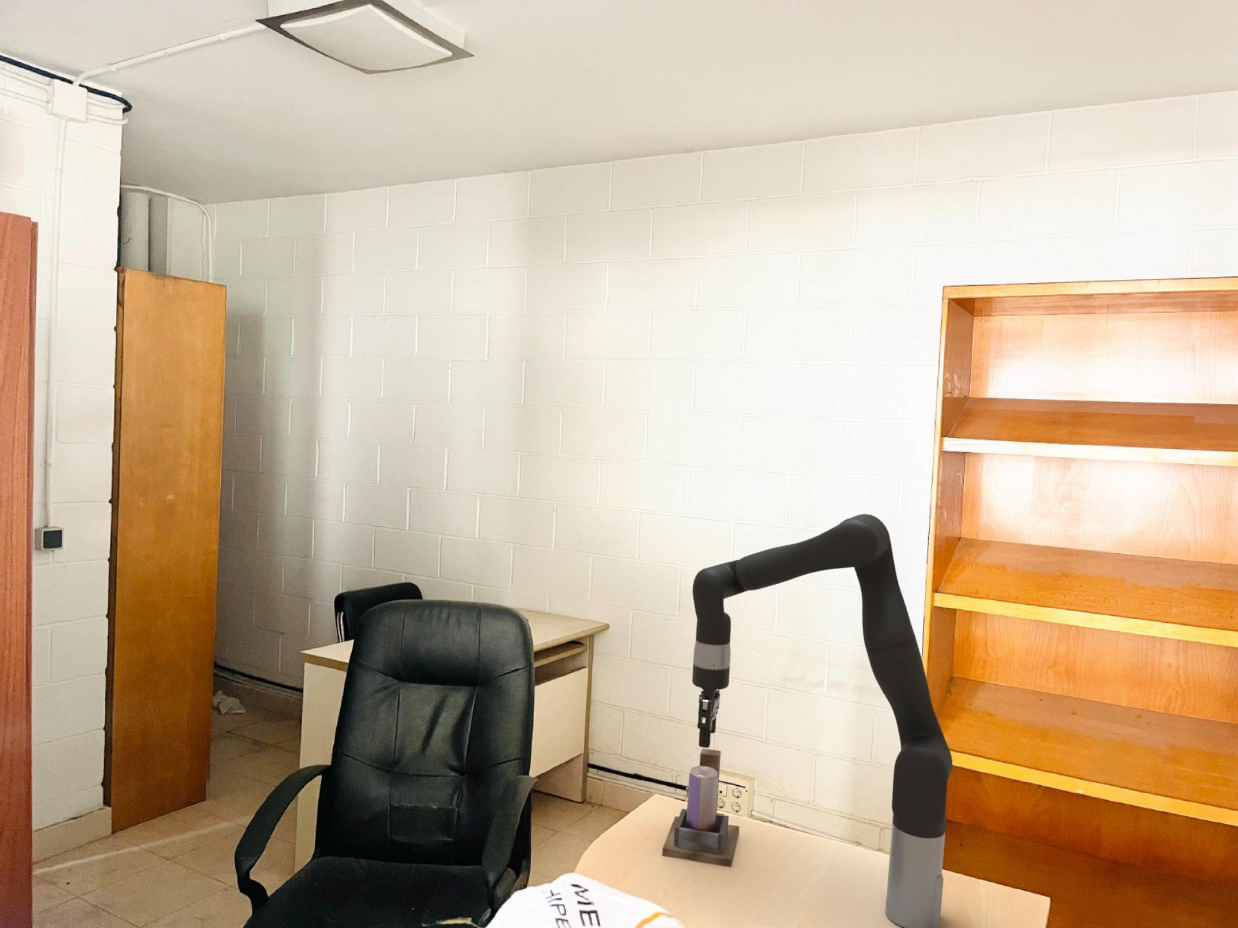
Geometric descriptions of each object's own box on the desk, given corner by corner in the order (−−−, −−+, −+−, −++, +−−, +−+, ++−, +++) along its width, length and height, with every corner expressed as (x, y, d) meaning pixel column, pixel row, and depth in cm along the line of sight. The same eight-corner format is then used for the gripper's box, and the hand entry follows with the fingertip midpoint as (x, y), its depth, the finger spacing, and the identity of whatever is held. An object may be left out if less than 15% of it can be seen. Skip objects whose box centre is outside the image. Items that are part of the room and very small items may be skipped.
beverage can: (682, 845, 188) (686, 774, 186) (688, 832, 193) (693, 763, 192) (710, 850, 186) (715, 779, 185) (716, 837, 192) (721, 768, 190)
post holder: (738, 832, 198) (744, 754, 196) (731, 866, 183) (736, 781, 182) (674, 822, 201) (679, 744, 199) (662, 855, 186) (667, 771, 185)
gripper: (725, 674, 180) (721, 754, 181) (733, 655, 194) (729, 729, 195) (688, 669, 181) (683, 749, 183) (698, 651, 195) (694, 725, 196)
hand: (707, 739), depth 189 cm, fingers open, 8 cm apart
